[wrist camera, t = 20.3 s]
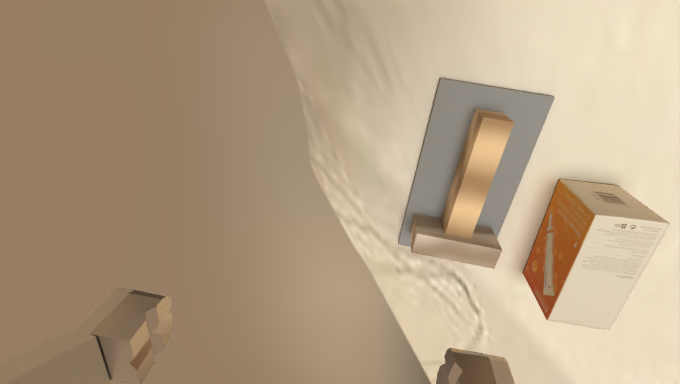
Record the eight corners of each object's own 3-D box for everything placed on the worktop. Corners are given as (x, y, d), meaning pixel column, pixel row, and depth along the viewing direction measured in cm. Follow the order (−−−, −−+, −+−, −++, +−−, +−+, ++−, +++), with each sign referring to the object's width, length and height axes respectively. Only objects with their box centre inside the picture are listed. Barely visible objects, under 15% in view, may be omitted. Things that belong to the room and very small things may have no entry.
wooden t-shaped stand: (444, 103, 35) (451, 113, 31) (535, 118, 35) (553, 131, 31) (409, 230, 42) (411, 252, 38) (484, 245, 42) (494, 268, 38)
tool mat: (440, 77, 35) (440, 78, 34) (552, 95, 34) (554, 97, 34) (398, 241, 44) (398, 244, 43) (486, 258, 43) (487, 261, 43)
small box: (595, 213, 31) (546, 322, 36) (673, 223, 30) (611, 332, 36) (557, 177, 38) (521, 273, 44) (619, 184, 37) (575, 280, 43)
